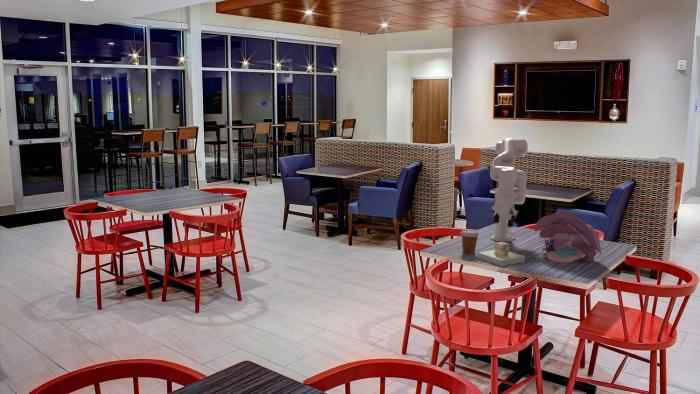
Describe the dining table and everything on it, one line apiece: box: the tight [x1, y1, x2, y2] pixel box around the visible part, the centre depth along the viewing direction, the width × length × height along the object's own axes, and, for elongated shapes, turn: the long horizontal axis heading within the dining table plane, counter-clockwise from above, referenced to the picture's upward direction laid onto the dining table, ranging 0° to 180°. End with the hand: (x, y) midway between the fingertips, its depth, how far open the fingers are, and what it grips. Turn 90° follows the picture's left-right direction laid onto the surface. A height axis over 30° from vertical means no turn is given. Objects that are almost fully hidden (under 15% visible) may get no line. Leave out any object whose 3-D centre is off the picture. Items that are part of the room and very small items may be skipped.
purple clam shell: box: [533, 210, 602, 263], centre depth 332 cm, size 35×24×28 cm
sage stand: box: [477, 249, 526, 267], centre depth 327 cm, size 17×17×3 cm
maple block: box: [494, 241, 510, 256], centre depth 326 cm, size 5×5×6 cm
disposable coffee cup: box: [460, 229, 479, 255], centre depth 339 cm, size 10×10×12 cm
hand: (503, 224), depth 324 cm, fingers open, 9 cm apart
